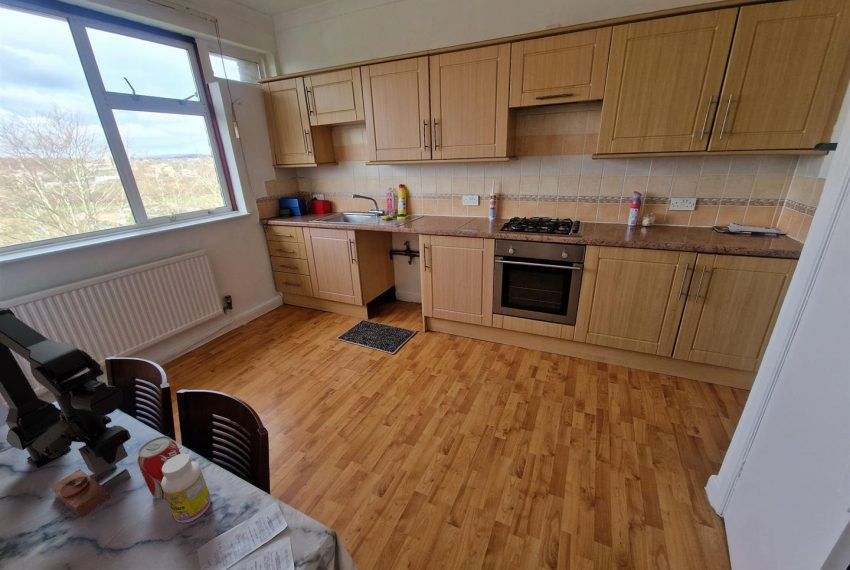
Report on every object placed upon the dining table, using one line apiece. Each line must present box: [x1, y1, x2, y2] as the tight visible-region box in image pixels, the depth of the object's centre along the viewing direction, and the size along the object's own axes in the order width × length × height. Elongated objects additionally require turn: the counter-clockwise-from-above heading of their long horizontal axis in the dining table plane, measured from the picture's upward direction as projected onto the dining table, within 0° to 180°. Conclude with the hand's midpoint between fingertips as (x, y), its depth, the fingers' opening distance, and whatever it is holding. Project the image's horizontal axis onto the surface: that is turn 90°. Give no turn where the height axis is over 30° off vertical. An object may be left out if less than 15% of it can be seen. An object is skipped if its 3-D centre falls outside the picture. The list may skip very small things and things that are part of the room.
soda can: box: [137, 435, 182, 500], centre depth 76 cm, size 7×7×12 cm
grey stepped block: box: [78, 426, 129, 475], centre depth 79 cm, size 4×6×7 cm, turn 153°
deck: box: [50, 463, 131, 519], centre depth 78 cm, size 12×10×4 cm
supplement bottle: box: [161, 453, 212, 524], centre depth 71 cm, size 7×7×13 cm
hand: (106, 459), depth 80 cm, fingers closed on grey stepped block, 4 cm apart
